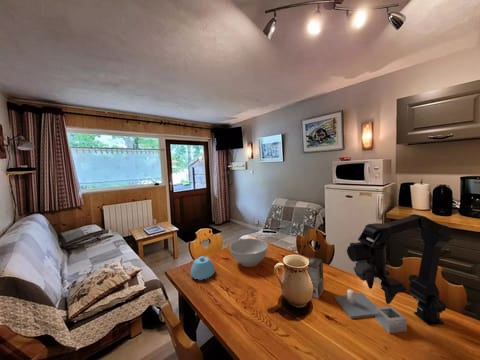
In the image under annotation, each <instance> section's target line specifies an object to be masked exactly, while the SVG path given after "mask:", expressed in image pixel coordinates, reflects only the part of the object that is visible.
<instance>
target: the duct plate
mask: <svg viewBox="0 0 480 360" xmlns="http://www.w3.org/2000/svg"><path fill="white" fill-rule="evenodd" d="M346 293H347V294H344V295H335V296H334V299H335V301H336V303H338V304H339V305H340V307H341V308H342V309H343V311H344V312H345V313H346V314H347V316H348V317H349V318H350V319H351V320H352V319H360V318H371V317H375V308H377V307H378V306H376V305H375V304H374V303H373V302H372V301H371V300H370V299H369V298H368V297H367V296H366V295H365V294H364V293H356V291H355V290H353V289H347V291H346Z"/></svg>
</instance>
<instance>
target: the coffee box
mask: <svg viewBox="0 0 480 360" xmlns="http://www.w3.org/2000/svg"><path fill="white" fill-rule="evenodd" d="M308 260H309V265H308V268H307V271H308V274H309V276H310V278H311V281H312V284H313V296H311V297H312V298H315V299H319V298H320V297H321V294H323V291H324V289H325V285H324V265H323V263H324V262H323V259H319V258H317V257H312V256H311V257H309V258H308Z"/></svg>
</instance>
